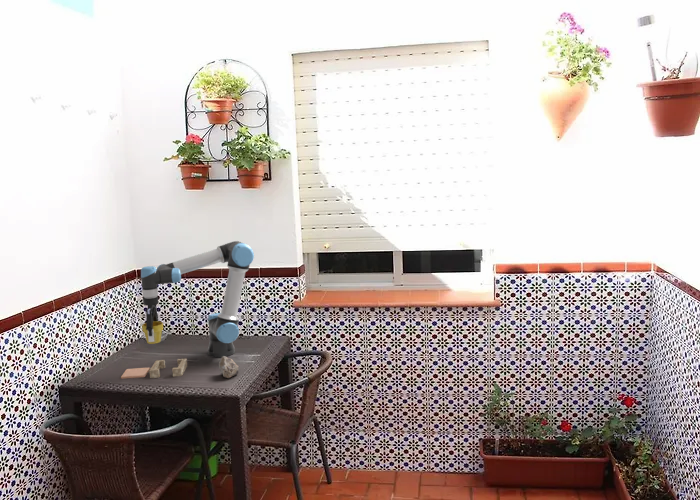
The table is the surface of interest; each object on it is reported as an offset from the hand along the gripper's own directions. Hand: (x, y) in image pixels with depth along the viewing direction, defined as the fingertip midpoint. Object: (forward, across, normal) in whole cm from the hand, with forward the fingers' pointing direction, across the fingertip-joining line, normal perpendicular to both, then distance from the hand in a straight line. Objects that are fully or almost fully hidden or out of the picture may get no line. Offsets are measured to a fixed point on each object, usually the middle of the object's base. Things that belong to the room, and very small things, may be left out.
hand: (153, 338), depth 340 cm
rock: (+18, +13, +38) cm, 44 cm away
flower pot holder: (+18, 0, +6) cm, 19 cm away
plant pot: (+2, 0, 0) cm, 2 cm away
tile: (+18, 0, -10) cm, 21 cm away
